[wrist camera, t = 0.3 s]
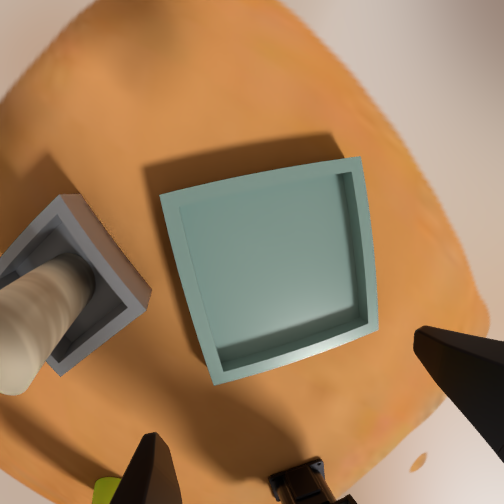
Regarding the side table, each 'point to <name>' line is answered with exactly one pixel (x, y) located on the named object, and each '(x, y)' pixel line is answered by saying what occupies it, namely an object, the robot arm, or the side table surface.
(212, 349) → the green-grey tray
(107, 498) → the soap dispenser
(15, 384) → the rounded wooden peg
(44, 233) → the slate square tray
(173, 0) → the side table surface
